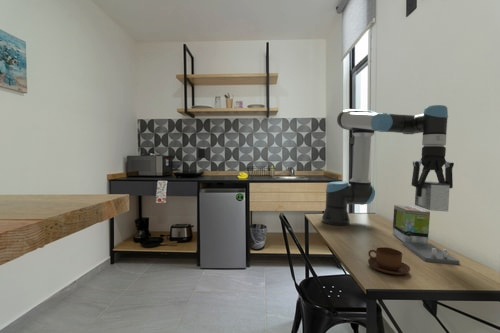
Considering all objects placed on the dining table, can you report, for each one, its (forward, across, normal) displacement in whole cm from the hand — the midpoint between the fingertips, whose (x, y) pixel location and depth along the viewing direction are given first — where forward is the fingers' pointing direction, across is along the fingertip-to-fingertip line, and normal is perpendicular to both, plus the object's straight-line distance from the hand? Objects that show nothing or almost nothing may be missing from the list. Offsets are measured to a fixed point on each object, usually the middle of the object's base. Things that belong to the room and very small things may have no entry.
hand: (430, 205), depth 100 cm
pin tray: (+19, 0, 0) cm, 19 cm away
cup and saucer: (+19, -22, -21) cm, 35 cm away
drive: (+1, 0, 0) cm, 1 cm away
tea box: (+19, +1, +19) cm, 27 cm away
